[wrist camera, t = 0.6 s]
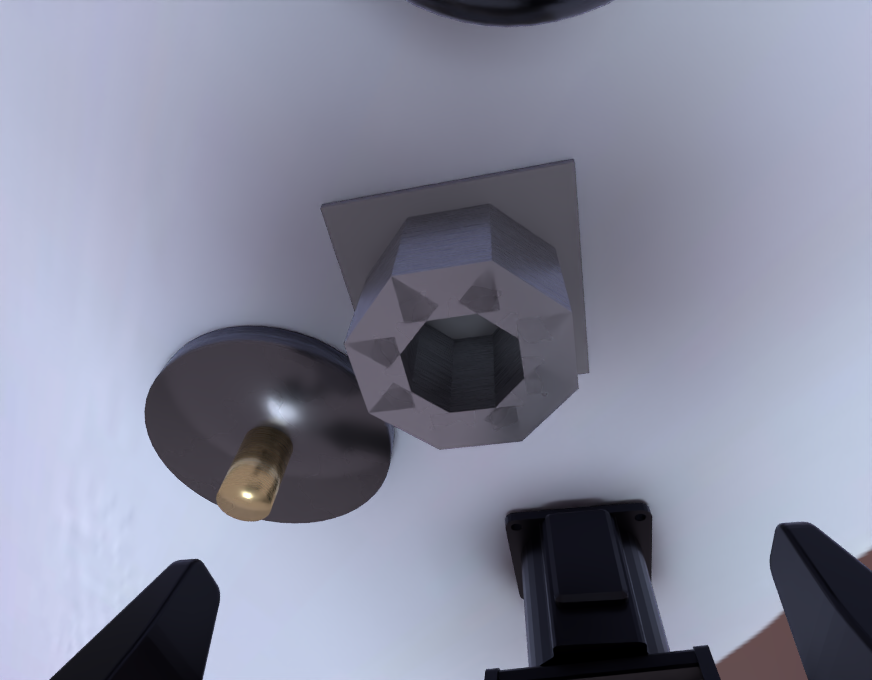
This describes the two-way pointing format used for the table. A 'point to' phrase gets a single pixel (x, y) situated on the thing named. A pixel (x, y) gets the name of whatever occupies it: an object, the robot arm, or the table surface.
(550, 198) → the stand pad
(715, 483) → the table surface
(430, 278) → the ring
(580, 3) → the supplement bottle
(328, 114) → the table surface
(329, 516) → the hub
